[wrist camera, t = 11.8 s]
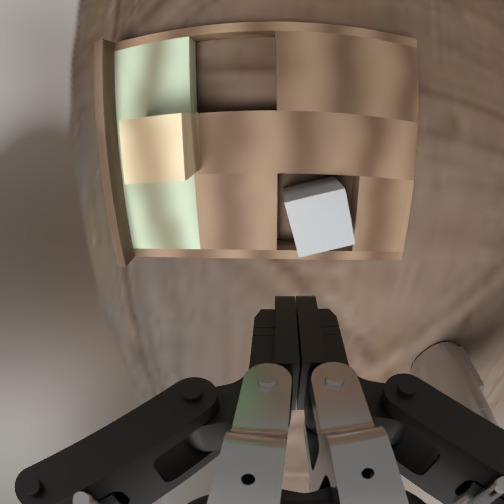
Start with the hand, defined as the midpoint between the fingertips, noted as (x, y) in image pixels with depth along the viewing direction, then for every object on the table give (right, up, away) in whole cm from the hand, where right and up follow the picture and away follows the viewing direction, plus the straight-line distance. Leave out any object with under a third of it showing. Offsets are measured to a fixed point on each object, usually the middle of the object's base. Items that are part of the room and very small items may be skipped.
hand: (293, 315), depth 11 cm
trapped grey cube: (+5, +7, +20) cm, 22 cm away
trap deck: (0, +14, +18) cm, 22 cm away
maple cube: (-9, +13, +16) cm, 23 cm away
